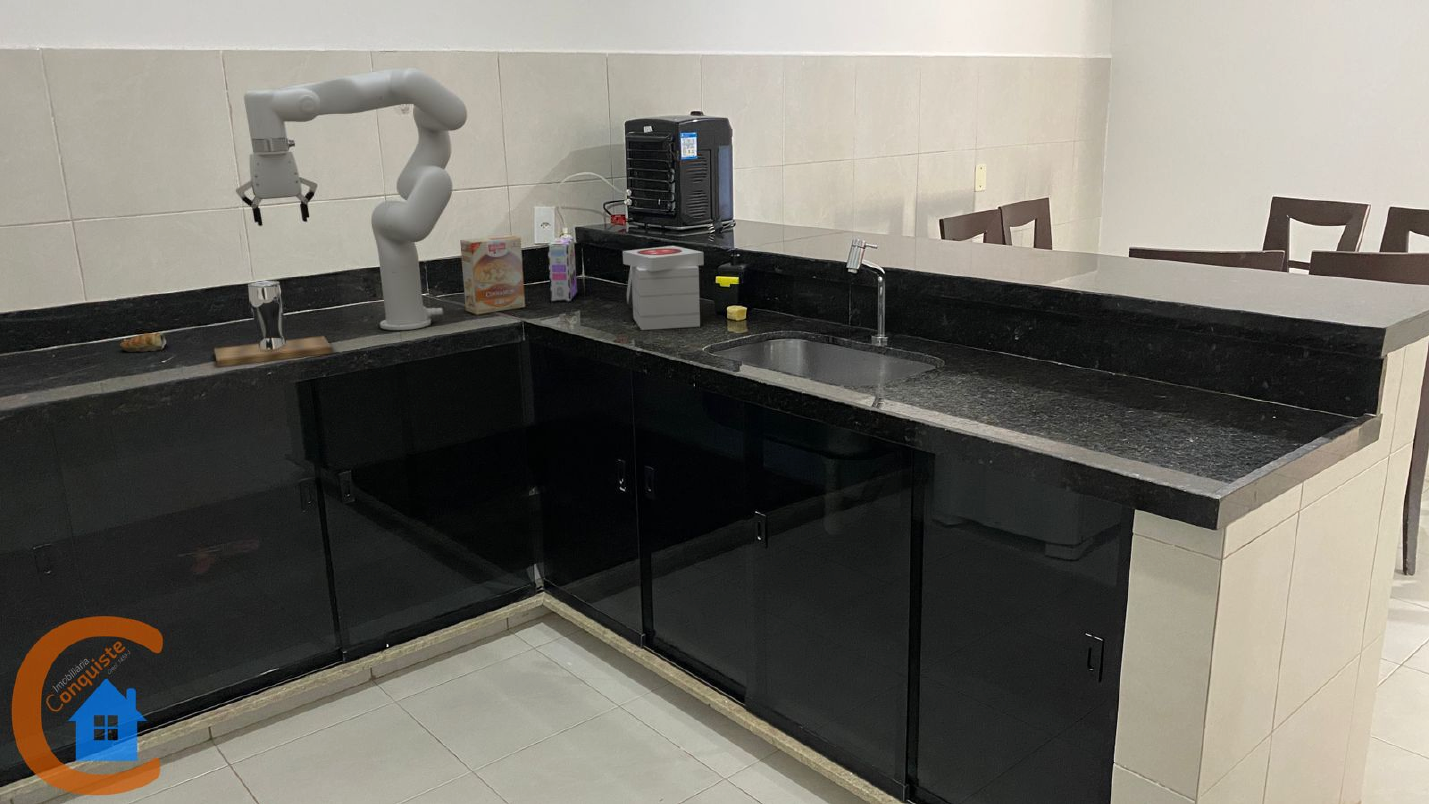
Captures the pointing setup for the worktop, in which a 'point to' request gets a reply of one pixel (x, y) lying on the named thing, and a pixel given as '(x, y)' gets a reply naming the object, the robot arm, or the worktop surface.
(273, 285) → the beer glass
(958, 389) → the worktop surface
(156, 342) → the pastry
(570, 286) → the candy box
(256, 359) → the serving board
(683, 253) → the pizza boxes
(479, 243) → the coffeecake box
